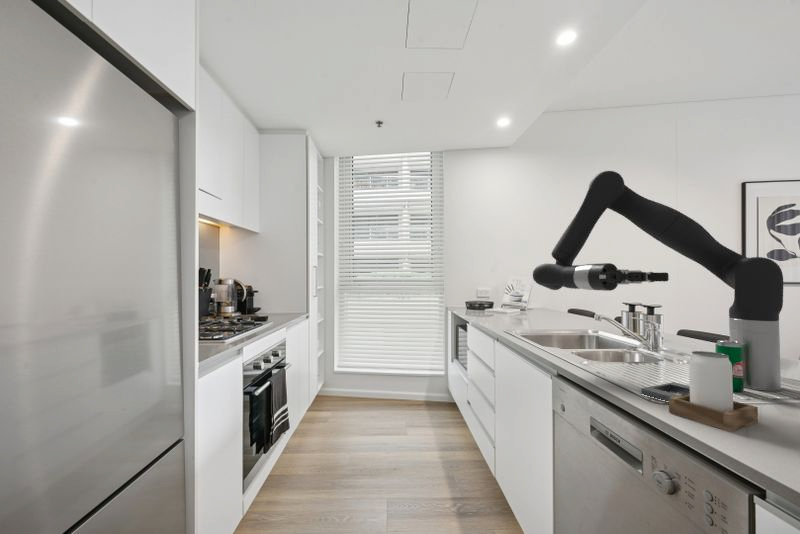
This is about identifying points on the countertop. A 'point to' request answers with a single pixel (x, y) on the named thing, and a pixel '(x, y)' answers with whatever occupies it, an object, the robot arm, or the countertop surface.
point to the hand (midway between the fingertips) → (657, 276)
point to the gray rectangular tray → (660, 390)
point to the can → (711, 380)
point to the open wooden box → (714, 413)
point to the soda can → (733, 361)
